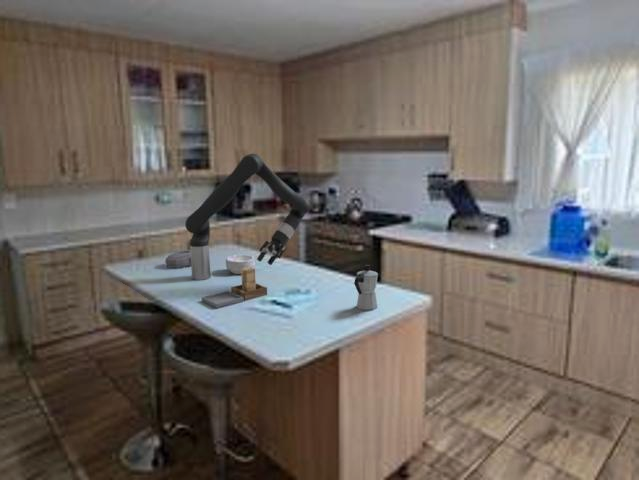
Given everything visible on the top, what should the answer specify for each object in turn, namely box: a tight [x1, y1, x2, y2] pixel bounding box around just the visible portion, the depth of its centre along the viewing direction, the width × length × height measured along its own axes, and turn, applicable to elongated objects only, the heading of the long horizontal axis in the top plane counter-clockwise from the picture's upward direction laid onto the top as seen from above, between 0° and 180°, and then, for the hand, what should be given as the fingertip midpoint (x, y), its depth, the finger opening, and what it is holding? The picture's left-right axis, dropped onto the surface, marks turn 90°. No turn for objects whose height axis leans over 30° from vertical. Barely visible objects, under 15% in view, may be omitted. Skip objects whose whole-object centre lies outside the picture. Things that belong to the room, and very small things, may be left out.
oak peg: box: [241, 267, 256, 292], centre depth 204 cm, size 4×4×12 cm
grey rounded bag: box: [164, 250, 191, 269], centre depth 258 cm, size 15×8×20 cm
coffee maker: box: [353, 264, 379, 311], centre depth 185 cm, size 15×9×18 cm, turn 141°
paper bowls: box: [225, 254, 256, 275], centre depth 243 cm, size 15×15×8 cm
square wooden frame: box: [230, 283, 268, 302], centre depth 205 cm, size 12×12×4 cm
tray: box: [201, 290, 245, 310], centre depth 196 cm, size 13×13×2 cm
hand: (263, 262), depth 208 cm, fingers open, 8 cm apart
